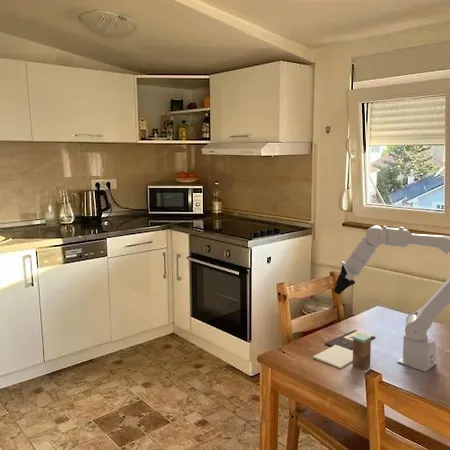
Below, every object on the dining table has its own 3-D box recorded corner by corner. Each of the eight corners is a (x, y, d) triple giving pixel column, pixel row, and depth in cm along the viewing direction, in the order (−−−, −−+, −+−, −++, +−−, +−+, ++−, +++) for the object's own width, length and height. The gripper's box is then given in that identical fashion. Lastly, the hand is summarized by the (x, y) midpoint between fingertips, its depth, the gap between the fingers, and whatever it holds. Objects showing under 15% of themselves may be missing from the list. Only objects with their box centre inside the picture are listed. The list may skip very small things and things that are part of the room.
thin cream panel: (362, 356, 155) (362, 354, 155) (340, 368, 147) (340, 367, 147) (335, 346, 164) (335, 344, 164) (313, 358, 155) (313, 356, 155)
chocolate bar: (324, 343, 166) (355, 329, 176) (324, 345, 166) (355, 332, 177) (345, 351, 159) (375, 336, 169) (345, 353, 159) (375, 339, 170)
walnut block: (370, 365, 148) (370, 336, 147) (363, 370, 146) (364, 340, 144) (359, 361, 151) (359, 333, 150) (352, 365, 149) (353, 336, 147)
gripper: (350, 245, 158) (329, 275, 163) (347, 256, 145) (324, 289, 150) (368, 256, 157) (346, 286, 162) (367, 269, 144) (343, 301, 149)
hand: (337, 288), depth 156 cm, fingers open, 7 cm apart
